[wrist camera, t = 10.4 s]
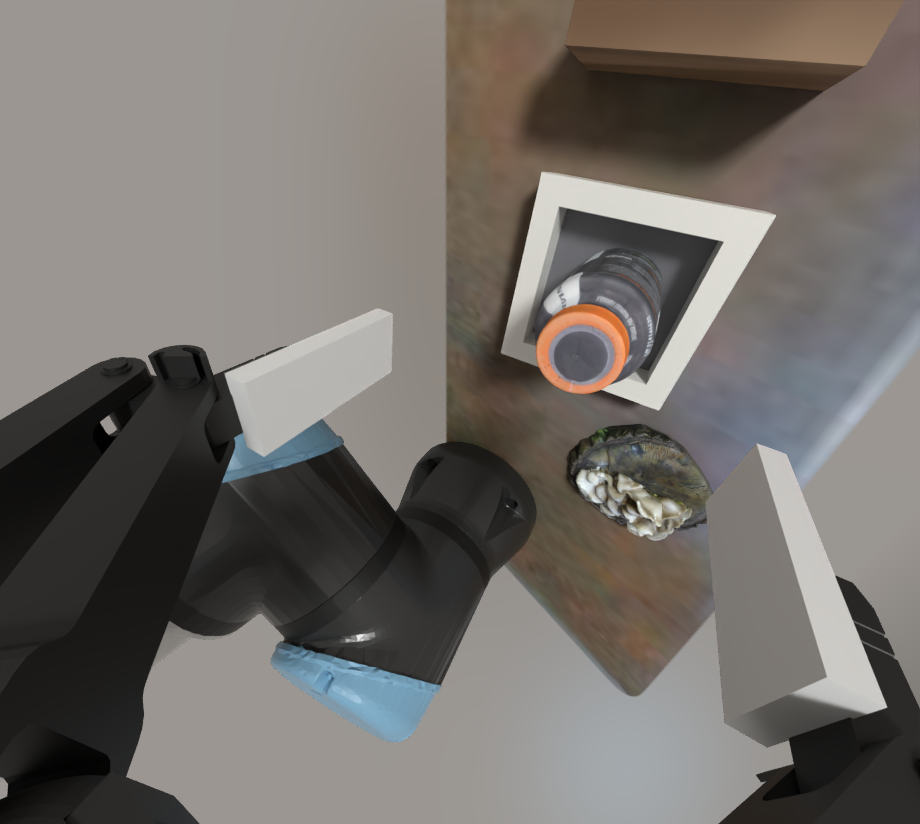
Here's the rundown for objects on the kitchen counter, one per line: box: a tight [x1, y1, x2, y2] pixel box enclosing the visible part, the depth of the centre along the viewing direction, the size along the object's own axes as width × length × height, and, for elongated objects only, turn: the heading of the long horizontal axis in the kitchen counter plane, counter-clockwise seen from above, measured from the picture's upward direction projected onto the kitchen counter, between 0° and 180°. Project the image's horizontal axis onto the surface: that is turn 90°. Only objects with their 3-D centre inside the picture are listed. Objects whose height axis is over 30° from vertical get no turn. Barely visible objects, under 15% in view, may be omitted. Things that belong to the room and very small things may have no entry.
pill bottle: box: [534, 248, 664, 394], centre depth 20 cm, size 6×6×11 cm
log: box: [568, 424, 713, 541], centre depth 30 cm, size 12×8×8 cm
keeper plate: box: [501, 172, 776, 411], centre depth 23 cm, size 12×12×2 cm
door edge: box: [565, 0, 905, 91], centre depth 15 cm, size 2×11×5 cm, turn 82°
